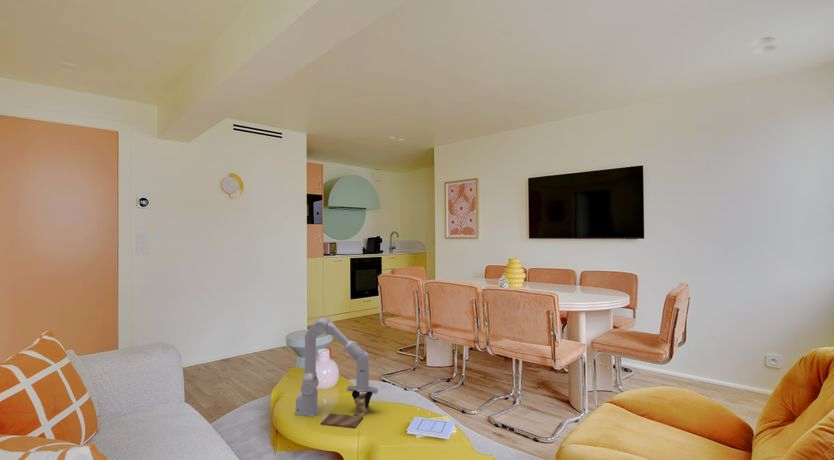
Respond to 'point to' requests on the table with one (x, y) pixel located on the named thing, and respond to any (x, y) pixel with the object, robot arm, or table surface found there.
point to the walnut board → (342, 420)
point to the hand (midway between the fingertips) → (362, 407)
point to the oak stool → (361, 405)
